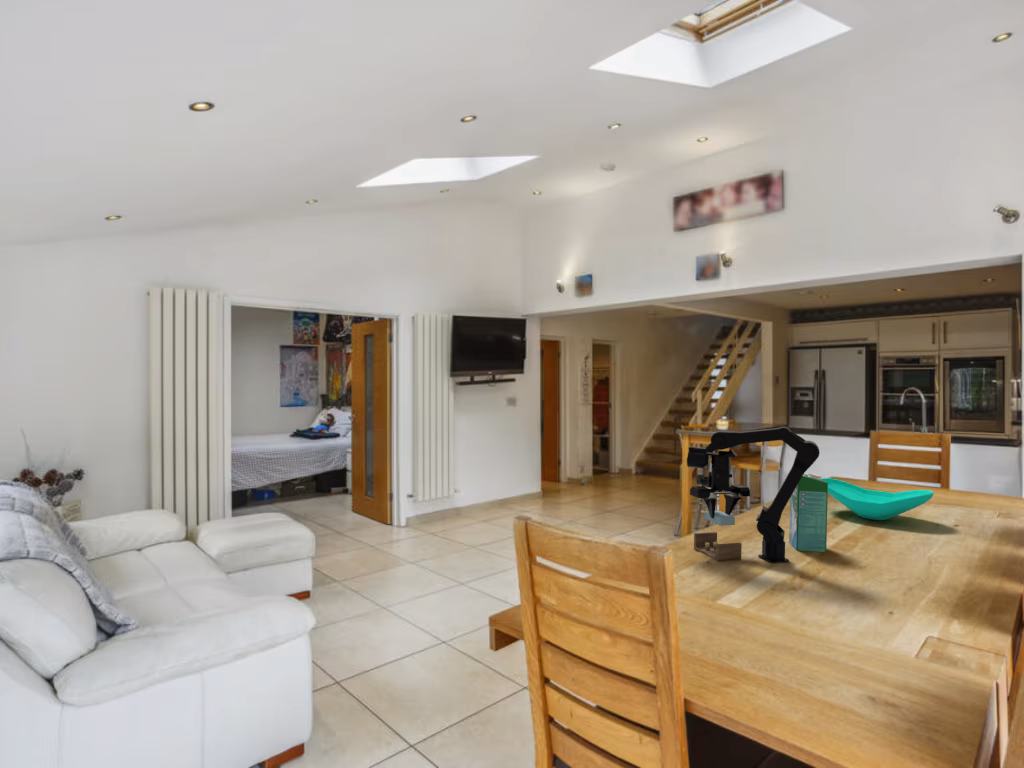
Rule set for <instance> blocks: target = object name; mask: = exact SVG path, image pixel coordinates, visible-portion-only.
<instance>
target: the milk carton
mask: <svg viewBox="0 0 1024 768" xmlns="http://www.w3.org/2000/svg"><path fill="white" fill-rule="evenodd" d="M822 478H823V477H822V475H820V474H816V473H814V472H808V474H806V473H804V474H803V476H802V478H801V480H800V481H799V483H798V485H797V487H796V488H795V490H794V492H793V494H792V495H791V497H790V499H789V501H790V502H789V504H790V505H789V535H788V536H789V540H788V543H789V544H791V546H792V547H793V548H794V549H795V550H796V551H801V552H803V551H804V552H817V553H827V542H828V541H827V539H828V538H827V536H828V535H827V533H828V531H827V529H828V502H829V501H828V500H829V499H828V494H829V493H828V483H827V482H825V481H823V480H822Z"/></svg>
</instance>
